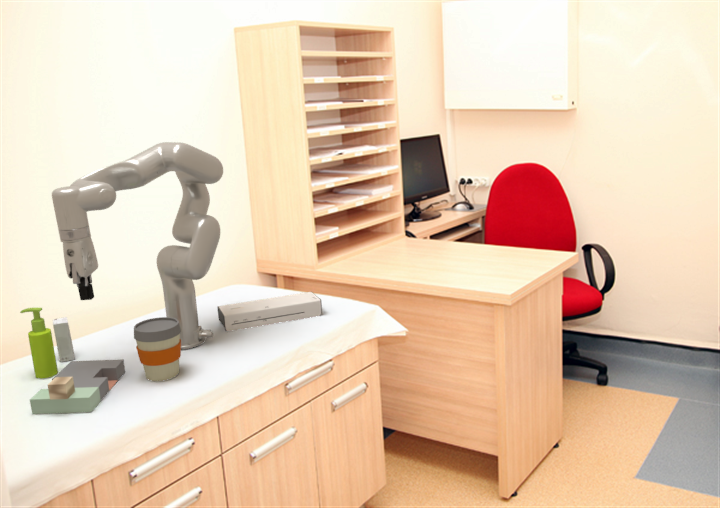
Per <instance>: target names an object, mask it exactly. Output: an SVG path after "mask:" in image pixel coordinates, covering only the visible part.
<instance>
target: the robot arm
mask: <svg viewBox="0 0 720 508" xmlns="http://www.w3.org/2000/svg"><path fill="white" fill-rule="evenodd" d="M169 172H175V175H176V177H177V179H178V181H179V183H180V186H181V189H182V197H181V201H180V205H179V208H178V210H177V214H176V216H175V219H174V223H173V226H172V231H171V232H172V237H173V238H174V240H176V241H178V242H180V243H184V244H189V246H183V245H176V244H175V245H174V244H172V245H167V246H164V247H163V248H162V249H161V250H159V252H158V254H157V256H156V267H157V270H158V274H159V277H160V280H161V285H162V291H163V299H164V300H163V301H164V308H165V309H164V310H165V315H166V316H165V317H170V318H175V319H177V320H178V321H179V324H180V329H181V332H180V339H181V351H182V349H183V350H189V348H190V349H193V347H194V348H196V346H197V347H199V346H200V345H203V344H204V343H205V342H206V338H207V339H209V338H210V339H212V338H213V337H214V332H213V331H212V330H211V329H203V326H202V325H199V315H198V314H199V313H198V305H197V298H196V287H195V284H194V283H195V282H194V281H197V280H201V279H203V278H204V277H206V275H207V274H208V273H209V270H210V268H211V266H212V263H213V260H214V257H215V254H216V251H217V248H218V245H219V243H220V239H221V225H220V223H219V221H218V220H217V218H216V217H214V216H212V215H209V214H208V211H209V207H210V202H211V197H210V193H209V189H208V187H207V185H212V184H213V185H214V184H216V183H218V182H219V181H220V180H221V179H222V177H223V175H224V166H223V164H222V162H221V160H220V159H219V158H218V157H216V156H214V155H212V154H210V153H208V152H206V151H204V150H202V149H199V148H197V147H195V146H192V145H191V144H188V143H184V142H173V141H171V142H169V141H168V142H167V141H166V142H165V141H164V142H158V143H156V144H154V145H152V146H151V147H149V148H147V149H145V150H143V151H141V152H139V153H137V154H136V155H134V156H131V157H130V158H127V159H125V160H123V161H119V162H116V163H114V164H110V165H108V166H105V167H102V168H99V169H96V170H94V171H92V172H89V173H87V174H86V175H83V176H82V177H80V178H77V179H76V180H75V181H73V182H72V183H71V184H70V186H63V187H58V188H57V187H56V188H55V189H53V191H52V192H51V200H52V205H53V208H54V214H55V220H56V223H57V224H56V225H57V230H58V235H59V240H60V242H61V243H62V251H63V258H64V265H65V270H66V274H67V277H68V278H69V279H72V284H73V285H76V286H77V290H78V293H79V300H80V301H92V300H93V299H94V298H95V295H94V288H93V287H94V286H93V278H92V274H93V273H94V272H96V270H98V268H99V263H98V257H97V253H96V250H95V246H94V242H93V239H92V235H91V230H90V224H89V219H88V212H92V211H93V212H94V211H102V210H107V209H109V208H110V207H111V208H112V206H113V205H114V204H115V202H116V201H117V200H116V199H117V192H118V191H125V190H126V191H127V190H132V189H133V190H135V189H137V188H141V187H144V186H146V185H148V184H149V183H151V182H152V181H155V180H156V179H158V178H161V176H164V175H165V174H166V173H169ZM204 341H205V342H204ZM203 342H204V343H203ZM198 345H199V346H198Z"/></svg>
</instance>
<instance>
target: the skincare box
mask: <svg viewBox="0 0 720 508" xmlns="http://www.w3.org/2000/svg"><path fill="white" fill-rule="evenodd" d="M52 326H53V332H54V338H55V342H56V346H57V347H56V348H57V352H58V353H57V354H58V358H59V362H60V363H63V362H69V361H70V362H71V361H75V358H76V357H75V351H74V345H73V340H72V336H71V329H70V325H69V321H68V317H67V316H65V317H59V318H58V317H57V318H53V319H52Z"/></svg>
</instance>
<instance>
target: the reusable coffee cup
mask: <svg viewBox="0 0 720 508" xmlns="http://www.w3.org/2000/svg"><path fill="white" fill-rule="evenodd" d="M180 332H181V329H180V324H179V321H178V320H177V319H175V318H170V317H166V316H164V317H163V316H162V317H154V318H153V317H152V318H148V319H144V320H142V321H140V322H138V323H136V324H135V325H134V326H133V338H134V340H135V341H136V352H137V355H138V360H139V363H140V364H141V365H142V367H143V370H144V375H145V379H147V380H148V379H149V380H148V381H150V380H152V381H151V382H164V381H163V380H165V381H168V380H167V379H169V380H171V378H172V379H174V378H175V376H176V375H177V374H178V373H180V358H181V356H182V350H181V339H180ZM178 375H179V374H178ZM178 375H177V376H178ZM177 376H176V377H177ZM173 377H174V378H173Z"/></svg>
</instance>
